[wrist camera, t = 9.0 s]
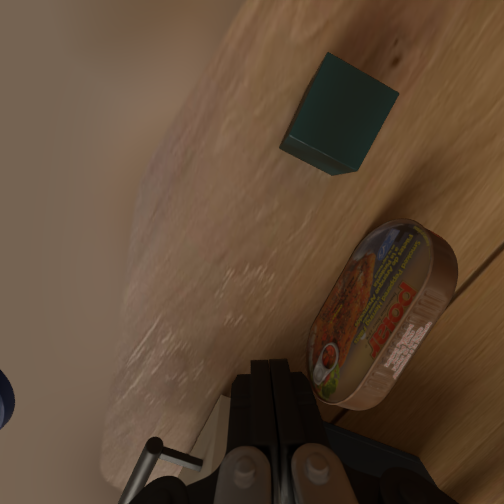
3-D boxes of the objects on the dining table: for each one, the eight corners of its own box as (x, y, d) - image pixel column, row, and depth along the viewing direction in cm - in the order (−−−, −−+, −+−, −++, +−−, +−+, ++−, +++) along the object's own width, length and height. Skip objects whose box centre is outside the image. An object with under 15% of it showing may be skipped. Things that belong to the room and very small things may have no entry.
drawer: (134, 461, 27) (89, 568, 19) (173, 376, 24) (140, 460, 17) (289, 512, 29) (304, 626, 21) (339, 438, 27) (376, 538, 19)
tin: (375, 212, 22) (452, 225, 14) (406, 227, 22) (498, 249, 14) (295, 351, 25) (319, 430, 17) (323, 363, 25) (360, 445, 17)
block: (278, 148, 21) (288, 135, 16) (307, 85, 20) (327, 50, 15) (332, 176, 21) (357, 171, 16) (363, 116, 20) (400, 93, 15)
